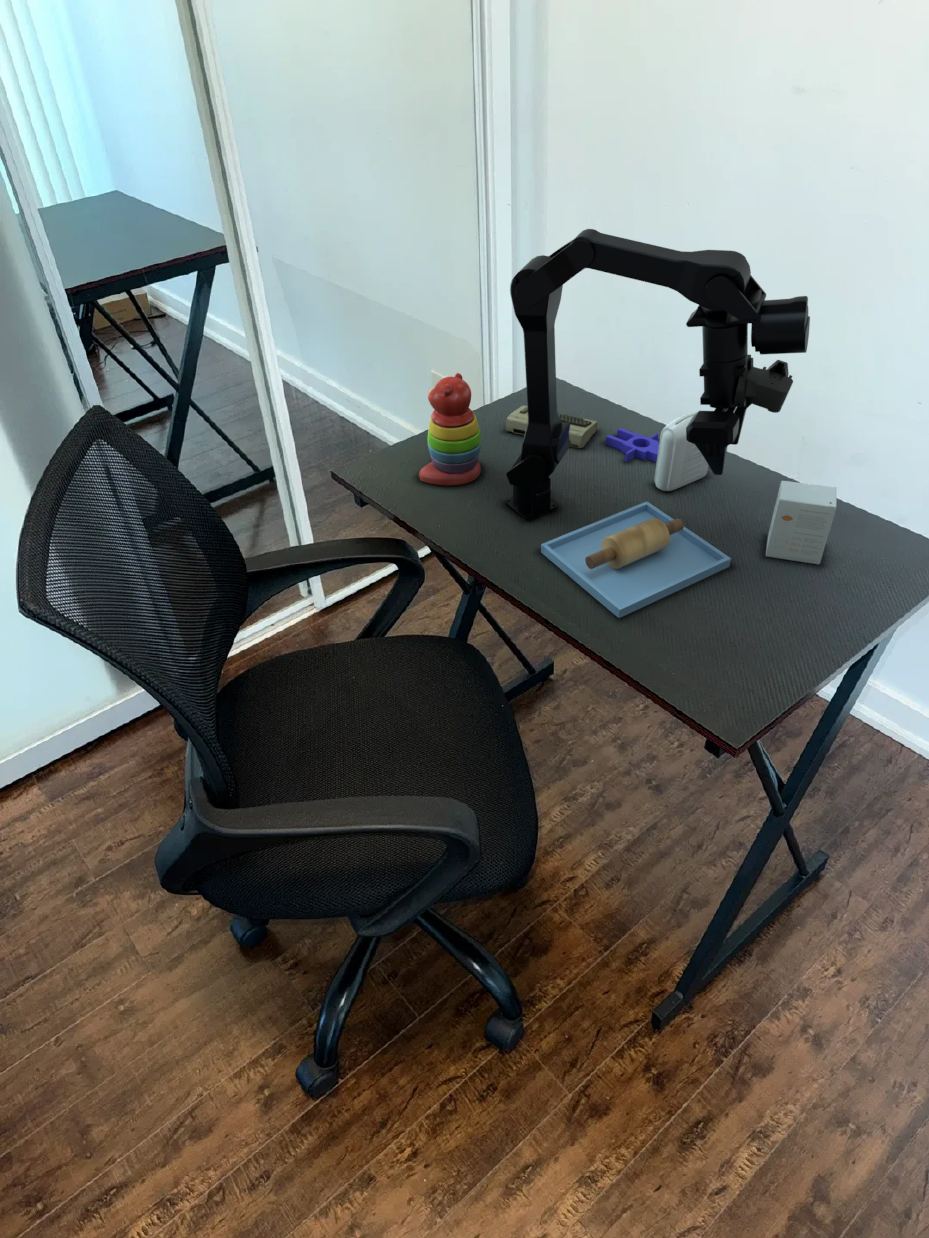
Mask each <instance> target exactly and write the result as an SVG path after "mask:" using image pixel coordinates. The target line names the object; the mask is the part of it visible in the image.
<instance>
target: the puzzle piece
mask: <svg viewBox="0 0 929 1238" xmlns="http://www.w3.org/2000/svg"><path fill="white" fill-rule="evenodd" d="M659 435H660V434H659V433H658V432H656V433H654V434H653V435H651V436H650V437H649V436H645V435H643V434H640V433H635V432H632V431H630V430H627V429H625V428H623V427H619V428H618V429H617V432H616V436H614V435H611V434H608V435H606V438H605V439H606V440H605V445H607V446H609V447H611V448H614V449H617V450H619V451H621V453H624V454H625V455H624V462H626V463H627V462H630V460H632V459H634V458H636V459H639V460H642V461H646V460H649V461H651V462H654V463H657V456H658V449H659V442H660V440H659Z"/></svg>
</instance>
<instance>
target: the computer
mask: <svg viewBox="0 0 929 1238" xmlns="http://www.w3.org/2000/svg"><path fill="white" fill-rule="evenodd" d="M557 414H558V417H559V418H560V420H561V422H562V423H566V422H569V423H570V430H569V438H570V441H571V445H570V447H572V448H577V449H582V448H584V447H585V446H586V445H587V443H588V442H589V441H590V439H591V438H592V437H593V435H594V434H595V433H596V432H597V431H598V425H599V424H598V421H597V420H593V419H588V418H583V417H578V416H574V415H570V414H565V413H561V412H557ZM527 424H528V407H527V405H525V404H523V405H521V406H520V407H518V408H517V409H516V410H513V411H512V412H511V413H510V414H509V415H508V416H507V418H506V422H505V432H511V433H512V434H516V435H521V436H524V435H525V431H526V428H527Z"/></svg>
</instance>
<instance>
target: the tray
mask: <svg viewBox="0 0 929 1238" xmlns="http://www.w3.org/2000/svg"><path fill="white" fill-rule="evenodd" d="M652 518H658V519H660V520H661V521H662V522H663V523H664V524H665V523H667V522H670V521H672V520H674V518H673V517H671V516H670V515H668V514H666V512H663V511H662V510H661V509H659V508H658V507H656V506H654V505H653V504H652V503H650V502H649V501H644V502H642V503H640V504H637V505H634V506H632V507H629V508H627V509H624V510H622V511H619V512H617V513H615V514H612V515H610V516H607V517H605V518H601V519H600V520H598V521H595V522H593V523H590V524H587V525H585V526H583V527H580V528H578V529H576V530H573V531H570V532H567V533H565V534H563V535H561V536H558V537H555V538H553V539H551V540H548V541H546V542H543V543H541V544H540V553H541V554H542V555H543V556H544V557H546V559H548V560H549V561H550V562H552V563H553V564H554V565H555V566H556V567H557V568H559V569H560V570H561V571H562V572H563V573H564V574H566V576H568V577H569V578H570V579H572V581H574V582H575V583H577V585H578V586H580V587H581V588H582V589H584V590H585V592H587V593H588V594H589V595H590V596H591V597H593V598H594V599H595V600H596V601H598V602H599V603H600V604H601V605H602V606H603V607H604V608H606V609H607V610H608V611H609V612H611V614H613V615H614V616H616V617H617V618H618V619H621V618H622V617H625V616H627V615H629V614H631V613H634V612H635V611H638V610H640V609H642V608H644V607H646V606H648V605H650V604H653V603H655V602H657V601H659V600H661V599H664V598H665V597H668V596H670V595H672V594H675V593H677V592H679V591H681V590H682V589H685V588H687V587H690V586H692V585H693V584H696V583H698V582H700V581H702V580H705V579H706V578H708V577H711V576H713V575H715V574H717V573H720V572H721V571H724V570H726V569H728V568H729V567H730V566H731V561H732V558H731V557H730V556H728V555H727V554H725V553H724V552H723V551H721V550H719V548H717V547H715V546H714V545H712V544H711V543H709V542H708V541H706V540H705V539H704V538H702V537H701V536H699V535H698V534H696V533H695V532H693V531H692V530H690V529H688V528H687V527H685V526H684V528H683V530H681V531H679V532H677V533H674V534H672V535H670V541H669V545H668V546H667V547H666V548H664V549H662V550H660V551H657V552H655V553H653V554H651V555H648V556H646V557H644V558H641V559H639V560H637V561H635V562H632V563H630V564H628V565H625V566H623V567H621V568H619V569H614V568H612V567H611V566H609V565H608V563H605V564H603V565H600V566H598V567H596V568H593V569H590V568H588V566H587V565H586V562H585V558H586V557H587V556H589V555H592V554H594V553H596V552H599V551H601V550H602V549H601V544H602V541H603V539H604V538H606V537H609V536H611V535H613V534H616V533H618V532H620V531H623V530H625V529H628V528H630V527H632V526H635V525H637V524H640V523H642V522H644V521H647V520H649V519H652Z"/></svg>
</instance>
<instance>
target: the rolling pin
mask: <svg viewBox="0 0 929 1238" xmlns="http://www.w3.org/2000/svg"><path fill="white" fill-rule="evenodd" d="M673 519H674V518H673ZM684 527H685V525H684V522H683V520H682V519H681V518H675V519H674V520H672V521H670V522H667V523H665V524H664V523H663V522H662V521H661V520H660V519H658V518H652V519H649V520H647V521H644V522H642V523H640V524H637V525H635V526H632V527H630V528H628V529H625V530H623V531H620V532H618V533H616V534H613V535H611V536H609V537H606V538H604V539H603V541H602V544H601V549H602V550H601V551H599V552H596V553H594V554H592V555H589V556H587V557H586V558H585V562H586V565H587V566H588V568H590V569H593V568H596V567H598V566H600V565H603V564H605V563H608V565H609V566H611V567H612V568H614V569H619V568H621V567H623V566H625V565H628V564H630V563H632V562H635V561H637V560H639V559H641V558H644V557H646V556H648V555H651V554H653V553H655V552H657V551H660V550H662V549H664V548H666V547H667V546H668V545H669V541H670V535H672V534H674V533H677V532H679V531H681V530H683V528H684Z"/></svg>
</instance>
